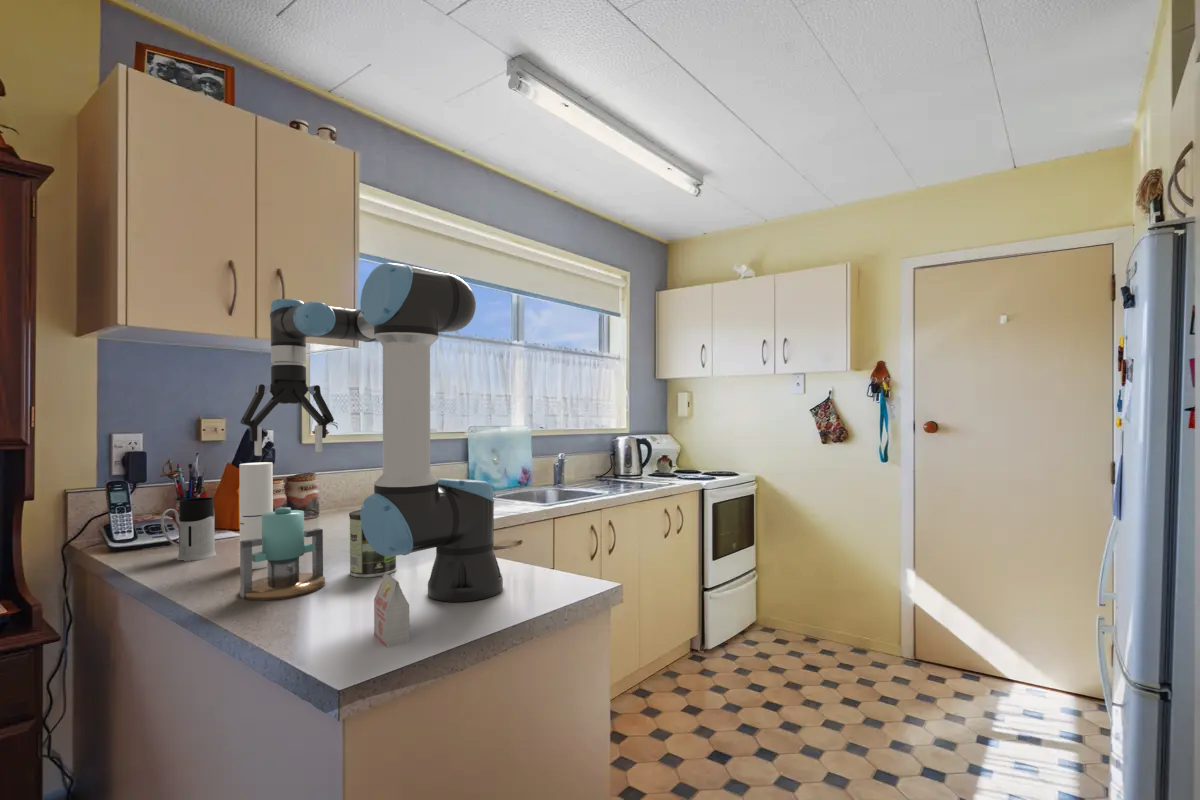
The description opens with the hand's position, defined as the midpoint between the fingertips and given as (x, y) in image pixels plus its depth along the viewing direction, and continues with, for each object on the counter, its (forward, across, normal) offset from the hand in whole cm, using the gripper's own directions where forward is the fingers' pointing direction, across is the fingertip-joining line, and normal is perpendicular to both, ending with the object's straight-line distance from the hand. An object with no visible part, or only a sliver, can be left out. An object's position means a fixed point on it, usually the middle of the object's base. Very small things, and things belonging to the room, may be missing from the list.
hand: (289, 453), depth 147 cm
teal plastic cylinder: (+21, +7, +16) cm, 27 cm away
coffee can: (+28, -12, +17) cm, 35 cm away
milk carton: (+28, +4, +60) cm, 66 cm away
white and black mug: (+28, +14, -32) cm, 44 cm away
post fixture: (+28, +7, +16) cm, 33 cm away
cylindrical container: (+28, +4, -10) cm, 30 cm away
